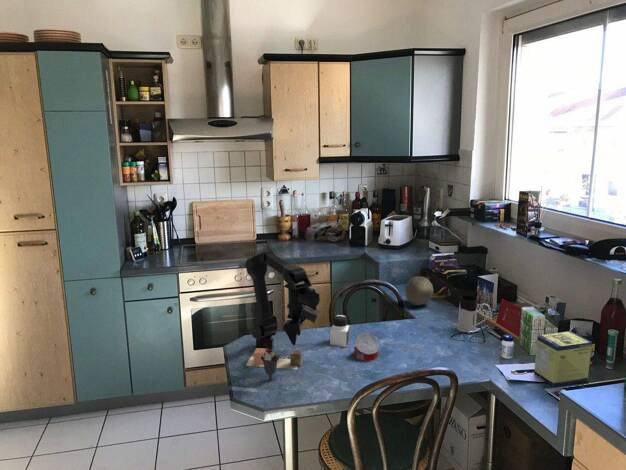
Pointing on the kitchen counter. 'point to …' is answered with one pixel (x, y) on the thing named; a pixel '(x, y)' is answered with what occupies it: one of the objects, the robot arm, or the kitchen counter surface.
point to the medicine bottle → (339, 331)
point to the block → (258, 355)
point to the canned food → (366, 347)
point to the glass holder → (468, 313)
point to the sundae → (270, 362)
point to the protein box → (562, 358)
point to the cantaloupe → (419, 290)
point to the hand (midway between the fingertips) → (296, 340)
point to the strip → (283, 361)
